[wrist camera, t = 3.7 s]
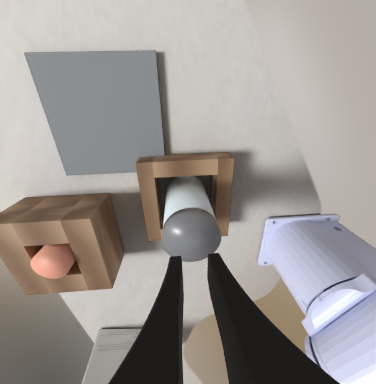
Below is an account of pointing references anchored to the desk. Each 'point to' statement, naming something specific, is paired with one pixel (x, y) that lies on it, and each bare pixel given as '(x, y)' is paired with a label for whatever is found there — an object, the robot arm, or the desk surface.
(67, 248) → the plunger
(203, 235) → the cylinder
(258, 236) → the desk surface
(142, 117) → the pad
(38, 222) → the plunger housing
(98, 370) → the skincare box
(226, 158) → the sleeve
